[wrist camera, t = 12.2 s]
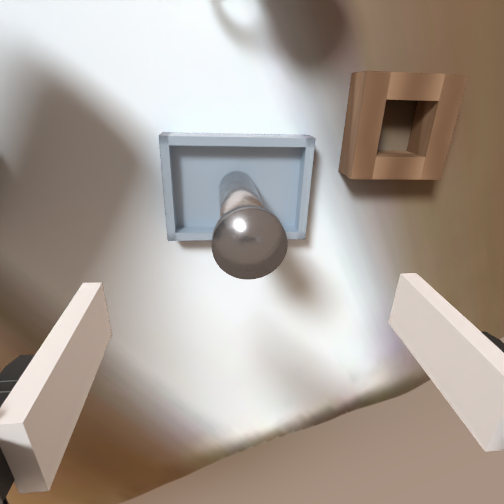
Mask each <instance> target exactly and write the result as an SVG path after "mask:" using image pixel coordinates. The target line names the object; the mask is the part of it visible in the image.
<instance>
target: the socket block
mask: <svg viewBox="0 0 504 504" xmlns="http://www.w3.org/2000/svg"><path fill="white" fill-rule="evenodd" d="M467 79H468V75H462V74H435V73H408V72H381V71H363V72H355V73H352V76H351V83H350V90H349V98H348V105H347V113H346V120H345V128H344V135H343V142H342V150H341V157H340V165H339V172H340V173H342V174H343V175H345V176H347V177H348V178H350V179H406V180H441V177H442V173H443V169H444V165H445V162H446V158H447V154H448V150H449V147H450V143H451V139H452V135H453V131H454V128H455V124H456V120H457V116H458V113H459V109H460V105H461V101H462V98H463V94H464V90H465V86H466V82H467ZM386 99H387V100H417V105H416V110H415V114H414V119H413V124H412V128H411V133H410V138H409V142H408V147H407V151H377V149H378V143H379V138H380V132H381V127H382V121H383V115H384V110H385V104H386Z"/></svg>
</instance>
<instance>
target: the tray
mask: <svg viewBox="0 0 504 504" xmlns="http://www.w3.org/2000/svg"><path fill="white" fill-rule="evenodd" d="M159 144H160V156H161V167H162V179H163V191H164V202H165V214H166V226H167V237H168V241H193V240H212V234H213V230H214V227H215V225H216V223H217V222H218V220H219V219H220V203H219V184H220V182H221V180H222V178H223V177H224V176H225V175H226V174H228V173H230V172H233V171H241V172H244V173H246V174H247V175H249V176H250V177H251V179H252V180H253V182H254V184H255V187H256V189H257V191H258V194H259V196H260V198H261V201H262V203H263V205H264V208H266V209H268V210H269V211H271V212H272V213H273V214H274V215H276V217H277V218H278V219H279V220H280V222H281V224H282V226H283V228H284V230H285V232H286V236H287V239H305V236H306V226H307V216H308V206H309V197H310V187H311V177H312V167H313V157H314V148H315V138H314V137H312V136H310V135H276V134H220V133H162V134H160V135H159Z"/></svg>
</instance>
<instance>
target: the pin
mask: <svg viewBox="0 0 504 504" xmlns="http://www.w3.org/2000/svg"><path fill="white" fill-rule="evenodd" d="M219 203H220V219H219V220H218V222H217V223H216V225H215V227H214V230H213V234H212V252H213V256H214V259H215V261H216V262H217V264H218V265H219V267H220V268H221V269H222V270H223V271H225V272H226V273H227V274H229V275H231V276H233V277H236V278H240V279H256V278H260V277H263V276H265V275H268V274H269V273H271V272H272V271H274V270H275V269H276V268H277V267H278V266H279V265H280V263H281V262H282V260H283V259H284V257H285V254H286V251H287V236H286V232H285V230H284V228H283V226H282V224H281V222H280V220H279V219H278V218H277V217H276V215H274V214H273V213H272V212H271V211H269V210H268V209H266V208H264V205H263V203H262V201H261V198H260V196H259V194H258V191H257V189H256V187H255V184H254V182H253V180H252V179H251V177H250V176H249V175H247V174H246V173H244V172H241V171H233V172H230V173H228V174H226V175H225V176H224V177H223V178H222V180H221V182H220V184H219Z"/></svg>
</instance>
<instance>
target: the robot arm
mask: <svg viewBox="0 0 504 504" xmlns="http://www.w3.org/2000/svg"><path fill="white" fill-rule="evenodd" d="M388 323H389V324H390V325H391V327H392V328H393V329H394V331H395V332H396V333H397V335H398V336H399V337H400V339H401V340H402V341H403V343H404V344H405V345H406V347H407V348H408V349H409V351H410V352H411V353H412V355H413V356H414V357H415V359H416V360H417V361H418V363H419V364H420V365H421V367H422V368H423V369H424V371H425V372H426V373H427V375H428V376H429V377H430V379H431V380H432V381H433V383H434V384H435V385H436V387H437V388H438V389H439V390H440V392H441V393H442V395H443V396H444V397H445V399H446V400H447V401H448V403H449V404H450V405H451V407H452V408H453V409H454V411H455V412H456V413H457V415H458V416H459V417H460V419H461V420H462V421H463V422H464V424H465V425H466V427H467V428H468V429H469V431H470V432H471V433H472V435H473V436H474V437H475V439H476V440H477V441H478V443H479V444H480V445H481V447H482V448H483V449H484V451H496V450H504V343H503V342H502V341H501V340H499V339H497V338H496V337H494V336H492V335H490V334H489V333H487V332H480V331H479V330H478V329H477V328H476V327H475V326H474V325H473V324H472V323H470V322H469V321H468V320H467V319H466V318H465V317H464V316H463V315H462V314H461V313H459V312H458V311H457V310H456V309H455V308H454V307H453V306H452V305H451V304H450V303H448V302H447V301H446V300H445V299H444V298H443V297H442V296H441V295H440V294H439V293H437V292H436V291H435V290H434V289H433V288H432V287H431V286H430V285H429V284H428V283H426V282H425V281H424V280H423V279H422V278H421V277H420V276H419V275H418V274H417V273H406V274H400V278H399V282H398V286H397V290H396V294H395V298H394V302H393V306H392V310H391V314H390V318H389V322H388ZM111 336H112V332H111V327H110V322H109V316H108V311H107V306H106V300H105V295H104V290H103V284H102V282H95V283H82V285H81V286H80V288H79V289H78V291H77V292H76V294H75V295H74V297H73V299H72V300H71V302H70V303H69V305H68V306H67V308H66V309H65V311H64V312H63V314H62V315H61V317H60V318H59V320H58V321H57V323H56V324H55V326H54V327H53V329H52V330H51V332H50V333H49V335H48V336H47V338H46V339H45V341H44V342H43V344H42V345H41V347H40V348H39V350H38V351H37V353H36V354H35V355H20V356H19V357H17V358H16V359H15V360H14V361H12V362H11V363H10V364H8V365H7V366H6V367H5V368H4V369H3V371H2V372H1V373H0V504H9V503H8V501H7V499H6V496H7V494H8V492H9V490H10V488H11V486H12V484H13V482H14V483H15V485H16V487H17V489H18V491H19V494H21V493H32V492H43V491H49V490H50V487H51V485H52V482H53V480H54V477H55V475H56V472H57V470H58V467H59V465H60V462H61V460H62V457H63V455H64V453H65V450H66V448H67V445H68V443H69V440H70V438H71V435H72V433H73V430H74V428H75V425H76V423H77V420H78V418H79V415H80V413H81V410H82V408H83V406H84V403H85V401H86V398H87V396H88V393H89V391H90V388H91V386H92V383H93V381H94V378H95V376H96V373H97V371H98V368H99V366H100V363H101V361H102V359H103V356H104V354H105V351H106V349H107V346H108V344H109V341H110V339H111Z"/></svg>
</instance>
